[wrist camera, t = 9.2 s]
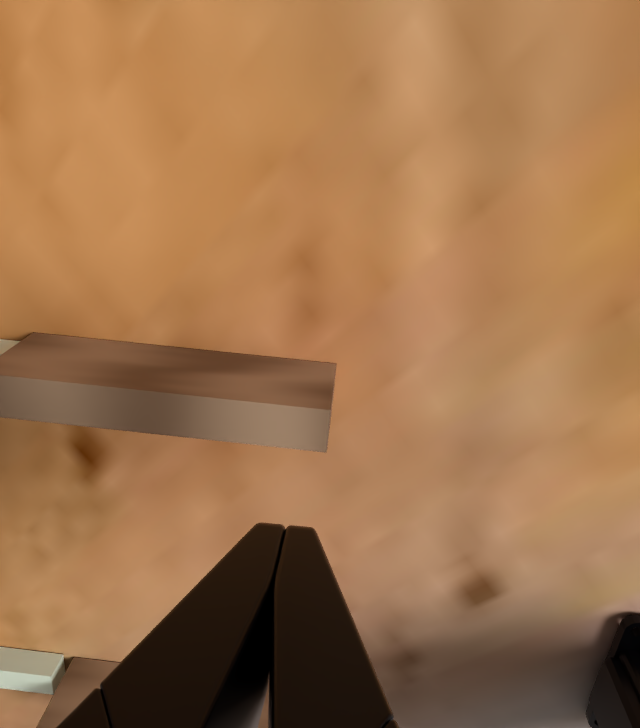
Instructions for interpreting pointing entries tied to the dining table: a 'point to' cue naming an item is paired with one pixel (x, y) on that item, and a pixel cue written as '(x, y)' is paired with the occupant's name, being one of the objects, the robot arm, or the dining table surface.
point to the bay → (26, 665)
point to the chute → (162, 416)
